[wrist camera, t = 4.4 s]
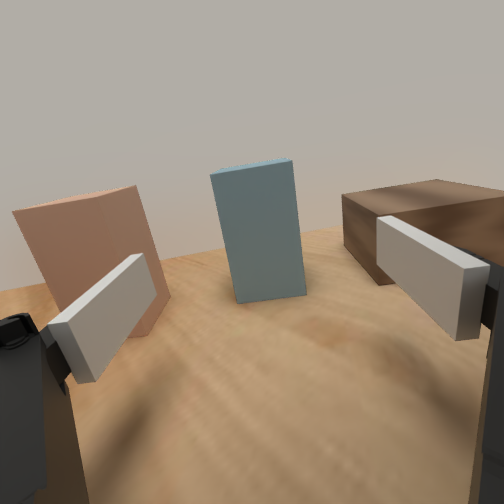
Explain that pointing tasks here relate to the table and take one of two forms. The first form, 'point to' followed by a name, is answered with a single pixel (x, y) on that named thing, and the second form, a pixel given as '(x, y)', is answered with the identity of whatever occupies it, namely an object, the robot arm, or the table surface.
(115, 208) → the clay brick
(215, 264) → the table surface
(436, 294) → the robot arm
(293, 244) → the blue brick
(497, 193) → the base block
